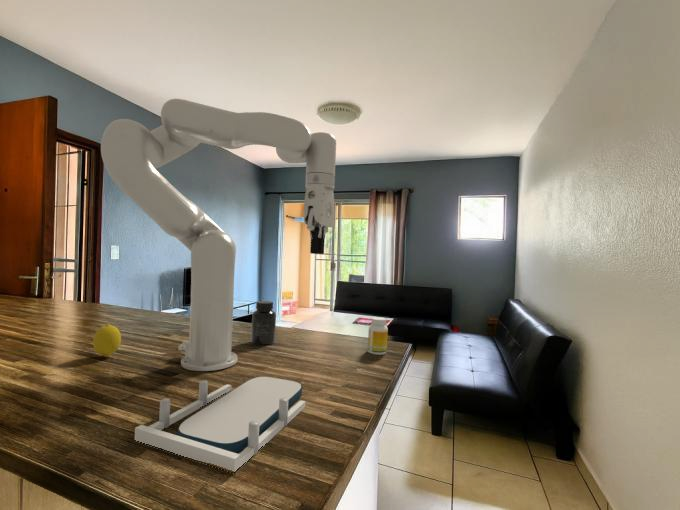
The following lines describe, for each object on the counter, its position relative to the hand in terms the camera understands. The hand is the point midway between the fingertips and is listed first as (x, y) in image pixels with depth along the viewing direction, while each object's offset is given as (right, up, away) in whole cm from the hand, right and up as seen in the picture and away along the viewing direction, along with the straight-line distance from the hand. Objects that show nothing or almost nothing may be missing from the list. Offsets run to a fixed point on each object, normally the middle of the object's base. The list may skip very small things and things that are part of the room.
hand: (317, 253), depth 86 cm
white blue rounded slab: (-10, -28, -30) cm, 42 cm away
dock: (-12, -27, -34) cm, 45 cm away
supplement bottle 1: (-17, -27, +12) cm, 34 cm away
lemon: (-50, -25, -6) cm, 57 cm away
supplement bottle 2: (+16, -28, +8) cm, 33 cm away
